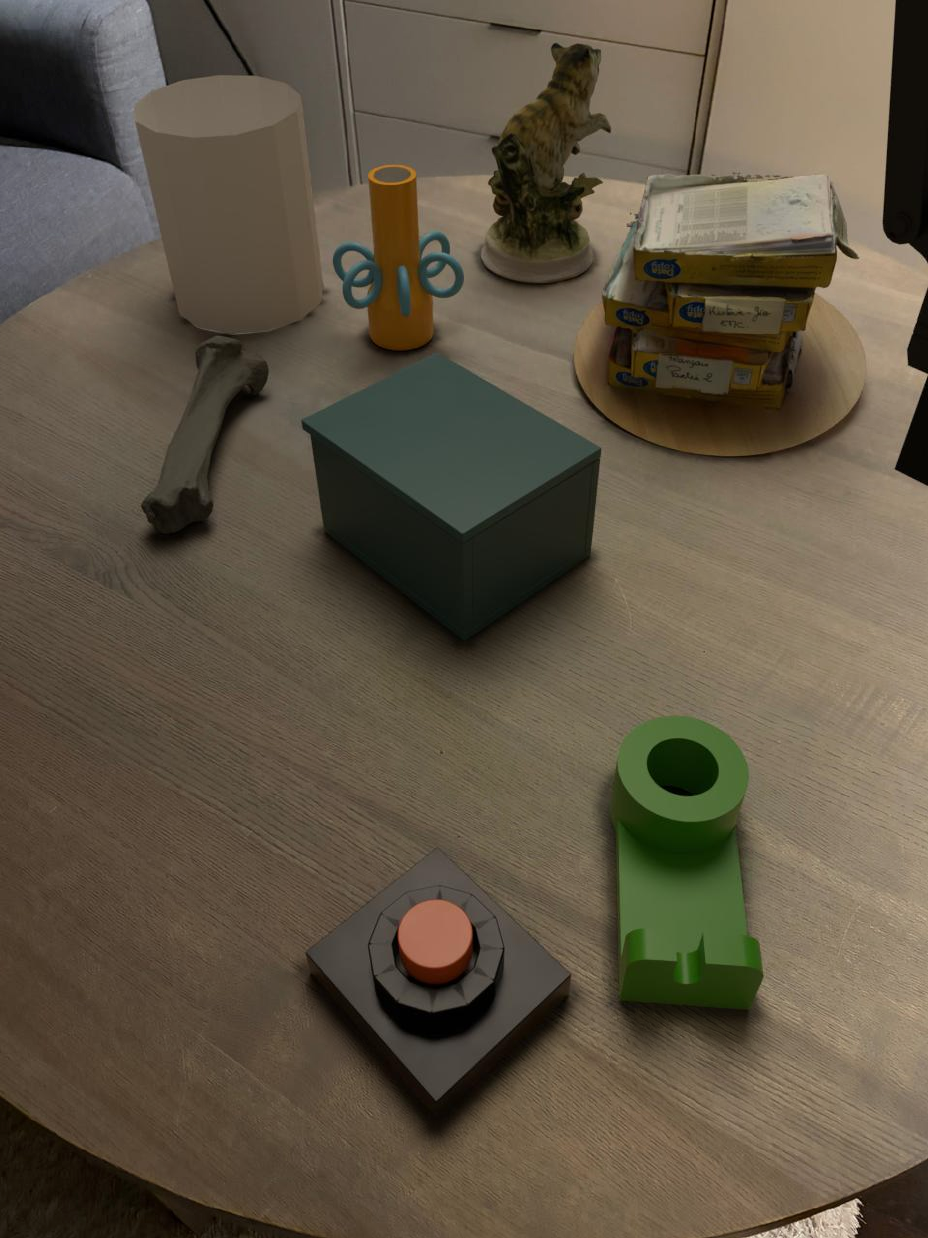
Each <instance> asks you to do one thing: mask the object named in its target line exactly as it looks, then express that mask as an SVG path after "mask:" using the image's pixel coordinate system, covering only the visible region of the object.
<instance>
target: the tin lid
mask: <svg viewBox="0 0 928 1238" xmlns="http://www.w3.org/2000/svg"><path fill="white" fill-rule="evenodd" d="M301 427H302V430H303V431H304V432H306V433H307V434H308V435H311V436H313V437H314V438H316V439H317V440H318V441H320V442H321V443H323V444H324V445H325V446H327V447H328V448H330V449H331V450H332V451H334V452H335V453H337V454H338V455H339V456H341V457H342V458H344V459H345V460H346V461H348V462H349V463H351V464H352V465H353V466H355V467H356V468H358V469H359V470H361V471H362V472H363V473H365V474H366V475H368V476H369V477H370V478H372V479H373V480H375V481H376V482H377V483H379V484H380V485H382V486H383V487H384V488H386V489H387V490H389V491H390V492H391V493H393V494H394V495H396V496H397V497H398V498H400V499H401V500H403V501H404V502H405V503H407V504H408V505H410V506H411V507H412V508H414V509H415V510H417V511H418V512H419V513H421V514H422V515H424V516H425V517H426V518H428V519H429V520H431V521H432V522H433V523H435V524H436V525H438V526H439V527H440V528H442V529H443V530H445V531H446V532H447V533H449V534H450V535H452V536H453V537H454V538H456V539H457V540H459V541H460V542H461V543H464V542H466V541H467V540H469V539H470V538H472V537H474V536H475V535H477V534H478V533H480V532H482V531H483V530H485V529H486V528H488V527H490V526H491V525H493V524H494V523H496V522H498V521H499V520H501V519H502V518H504V517H506V516H507V515H509V514H511V513H512V512H514V511H515V510H517V509H519V508H520V507H522V506H523V505H525V504H527V503H528V502H530V501H531V500H533V499H535V498H536V497H538V496H539V495H541V494H543V493H544V492H546V491H547V490H549V489H551V488H552V487H554V486H555V485H557V484H559V483H560V482H562V481H563V480H565V479H567V478H568V477H570V476H572V475H573V474H575V473H576V472H578V471H580V470H581V469H583V468H584V467H586V466H588V465H589V464H591V463H592V462H594V461H596V460H597V459H599V458H600V459H601V457H602V447H601V446H599V445H597V444H596V443H595V442H592V441H591V440H589V439H587V438H585V437H584V436H582V435H580V434H578V433H577V432H575V431H573V430H571V429H570V428H569V427H566V426H565V425H563V424H562V423H560V422H558V421H556V420H555V419H553V418H551V417H549V416H548V415H545V414H544V413H543V412H541V411H540V410H537V409H536V408H534V407H532V406H531V405H529V404H527V403H526V402H523V401H522V400H520V399H519V398H516V397H515V396H513V395H511V394H510V393H508V392H507V391H505V390H503V389H501V388H499V387H498V386H496V385H494V384H493V383H491V382H489V381H488V380H486V379H485V378H483V377H480V376H479V375H478V374H475V373H474V372H472V371H470V370H469V369H467V368H465V367H464V366H462V365H460V364H458V363H456V362H455V361H454V360H452V359H450V358H448V357H447V356H445V355H443V354H441V353H439V352H438V351H437V352H434V353H432V354H431V355H428V356H427V357H425V358H422V359H420V360H418V361H417V362H414V363H412V364H410V365H409V366H406V367H405V368H403V369H401V370H399V371H396V372H394V373H393V374H391V375H388V376H386V377H384V378H383V379H380V380H378V381H377V382H375V383H373V384H371V385H368V386H366V387H365V388H362V389H360V390H359V391H357V392H354V393H353V394H350V395H348V396H347V397H345V398H343V399H341V400H339V401H337V402H335V403H331V405H329V406H326V407H324V408H323V409H321V410H319V411H316V412H315V413H312V414H311V415H309V416H306V417H305V418H302V419H301ZM311 436H310V437H311Z"/></svg>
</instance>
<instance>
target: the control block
mask: <svg viewBox="0 0 928 1238" xmlns="http://www.w3.org/2000/svg"><path fill="white" fill-rule="evenodd" d="M434 899H438V900H445V901H449V902H451V903H453V904H455V905H457V906H458V907H460V908H461V909H462V910H463V911H464V912H465V913H466V915H467V916H468V918H469V920H470V922H471V925H472V930H473V954H472V959H471V961H470V964H469V966H468V967H467V969H466V970H465V971H464V972H463V973H462V974H461V975H460V976H459V977H458V978H456V979H454V980H453V981H450V982H448V983H444V984H436V985H433V984H427V983H423V982H420V981H418V980H416V979H415V978H413V977H412V976H411V975H410V974H409V973H408V972H407V971H406V970H405V968H404V966H403V964H402V962H401V959H400V953H399V944H398V928H399V924H400V922H401V920H402V918H403V916H404V915H405V914H406V913H407V911H409V910H410V909H411V908H412V907H413V906H415V905H417V904H418V903H421V902H423V901H427V900H434ZM305 957H306V960H307V964H308V965H307V966H308V968H309V972H310V973H311V974H312V976H313V977H314V978H315V979H316V981H318V982H319V984H320V985H321V986H322V987H323V989H324V990H325V991H326V992H327V993H328V995H330V997H331V998H332V999H333V1000H334V1002H335V1003H336V1004H337V1005H338V1006H339V1007H340V1008H341V1010H343V1012H344V1013H345V1014H346V1015H347V1017H348V1018H349V1019H350V1020H351V1021H352V1023H354V1025H355V1026H356V1027H357V1028H358V1029H359V1030H360V1032H362V1034H363V1035H364V1036H365V1037H366V1038H367V1040H368V1041H369V1042H370V1043H371V1044H372V1046H373V1047H374V1048H375V1049H376V1050H377V1051H378V1052H379V1054H380V1055H381V1056H382V1057H383V1058H384V1059H385V1061H387V1063H388V1064H389V1065H390V1066H391V1068H393V1070H394V1071H395V1072H396V1073H397V1074H398V1076H399V1077H400V1078H401V1079H402V1080H403V1081H404V1083H405V1084H406V1085H407V1086H408V1087H409V1088H410V1090H411V1091H412V1092H413V1093H414V1094H415V1095H416V1096H417V1098H418V1099H419V1100H420V1101H421V1103H423V1105H424V1106H425V1107H426V1108H427V1110H429V1112H430V1113H431V1114H432V1115H433V1116H434V1118H436V1119H437V1120H439V1119H440V1118H441V1117H442V1116H443V1115H444V1114H445V1113H446V1112H447V1111H449V1109H450V1108H451V1107H453V1106H454V1105H455V1104H456V1103H457V1102H458V1101H459V1100H460V1099H461V1098H462V1097H463V1096H464V1095H465V1094H466V1093H467V1092H468V1091H469V1090H470V1089H471V1088H472V1087H474V1086H475V1085H476V1083H478V1081H480V1080H481V1079H482V1078H483V1077H484V1076H485V1075H486V1074H487V1073H488V1072H489V1071H491V1069H492V1068H493V1067H495V1065H497V1064H498V1063H499V1062H500V1061H501V1060H502V1059H503V1058H504V1057H505V1056H506V1055H507V1054H509V1052H510V1051H511V1050H512V1049H513V1048H514V1047H515V1046H516V1045H517V1044H519V1042H521V1041H522V1040H523V1039H524V1037H526V1036H527V1035H528V1034H530V1032H531V1031H532V1030H533V1029H534V1028H535V1027H536V1026H537V1025H538V1024H539V1023H540V1022H541V1021H542V1020H543V1019H544V1018H545V1017H547V1016H548V1015H549V1014H550V1013H551V1012H552V1011H553V1010H554V1009H555V1008H556V1007H557V1006H558V1005H559V1004H561V1002H563V1000H564V999H565V998H566V997H567V996H568V995H569V994H570V988H571V981H572V973H571V972H569V970H568V969H566V968H565V967H564V966H563V965H562V964H561V963H560V962H559V961H558V960H557V959H556V958H555V957H554V956H553V955H551V954H550V952H549V951H548V950H547V949H545V948H544V946H543V945H541V944H540V943H539V942H538V941H537V940H536V939H535V938H534V937H533V936H532V935H531V934H530V933H529V932H528V931H527V930H526V929H525V928H524V927H522V925H520V924H519V922H518V921H516V919H514V918H513V916H511V915H510V913H508V912H507V911H506V910H505V909H504V908H502V907H501V906H500V904H498V902H496V901H495V900H494V899H493V898H492V896H490V895H489V893H487V891H485V890H484V889H483V888H482V887H481V886H480V885H478V884H477V883H476V881H474V880H473V879H472V877H470V876H469V874H467V873H466V872H465V871H464V870H463V869H462V868H461V867H460V866H459V865H458V864H457V863H455V862H454V860H453V859H451V858H450V857H449V856H448V855H447V853H446V852H444V851H443V850H442V849H441V848H440V847H439V846H437V847H436V848H434V849H433V850H432V851H431V852H429V853H428V854H426V856H424V857H423V858H422V859H420V860H419V861H418V862H417V863H415V864H414V865H413V866H412V867H410V868H409V869H408V870H406V871H405V872H404V873H403V874H401V875H400V876H399V877H397V878H396V880H394V881H392V882H391V883H390V884H389V885H388V886H387V887H386V888H384V889H383V890H382V891H380V892H379V893H377V895H375V896H374V897H373V898H372V899H370V900H369V901H367V903H365V904H364V905H363V906H361V907H360V908H358V910H356V911H355V912H354V913H352V914H351V915H350V916H349V917H348V918H346V919H345V920H344V921H343V922H341V923H340V924H339V925H337V926H336V927H335V928H333V930H331V931H330V932H328V933H327V934H326V935H325V936H324V937H322V938H321V939H320V940H319V941H318V942H316V943H315V944H314V945H312V946H311V947H310V948H308V949H307V950H306V951H305Z"/></svg>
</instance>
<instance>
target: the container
mask: <svg viewBox="0 0 928 1238" xmlns="http://www.w3.org/2000/svg"><path fill="white" fill-rule="evenodd" d="M132 107H133V115H134V123H135V128H136V130H137V131H136V132H137V136H138V140H139V145H140V149H141V154H142V158H143V162H144V167H145V171H146V175H147V180H148V184H149V188H150V194H151V197H152V201H153V205H154V210H155V214H156V219H157V222H158V228H159V232H160V237H161V240H162V244H163V250H164V252H165V258H166V262H167V266H168V271H169V276H170V279H171V283H172V288H173V292H174V298H175V301H176V306H177V310H178V314H179V315H180V316H181V317H183V319H186V321H189V322H190V323H191V324H193V325H194V326H196V327H197V328H199V329H202V330H203V329H204V330H209V331H215V332H219V333H224V334H228V335H237V334H238V335H239V334H249V333H263V332H270V331H273V330H277V329H279V328H281V327H284V326H287V325H289V324H292V323H295V322H298V321H301V320H303V319H304V318H305V317H306V316H307V315H308V314H310V313H311V312H312V311H313V310H314V309H316V308H317V307H318V306H319V305H320V304H321V302H322V298H323V297H322V296H323V290H324V278H323V270H322V261H321V253H320V244H319V243H320V242H319V235H318V228H317V220H316V211H315V210H316V209H315V203H314V201H315V200H314V194H313V186H312V185H313V184H312V177H311V176H312V175H311V169H310V159H309V151H308V142H307V134H306V126H305V120H304V119H305V116H304V110H303V100H302V95H301V94H300V93H299V92H297V91H296V89H294V88H293V87H291V86H290V85H289V84H288V83H287V82H283V81H279V80H275V79H270V78H267V77H263V76H259V75H239V74H238V75H237V74H236V75H235V74H233V75H231V74H217V75H210V76H204V77H196V78H190V79H189V78H188V79H183V80H180V81H179V80H178V81H176V82H174V83H171V84H168V85H165V86H162V87H159V88H157V89H154V90H151V91H150V92H148V93H147V94H146V95H144V96H143V97H142V98H141V99H139V100H138V101H137V102H136V103H135V104H133V106H132Z"/></svg>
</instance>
